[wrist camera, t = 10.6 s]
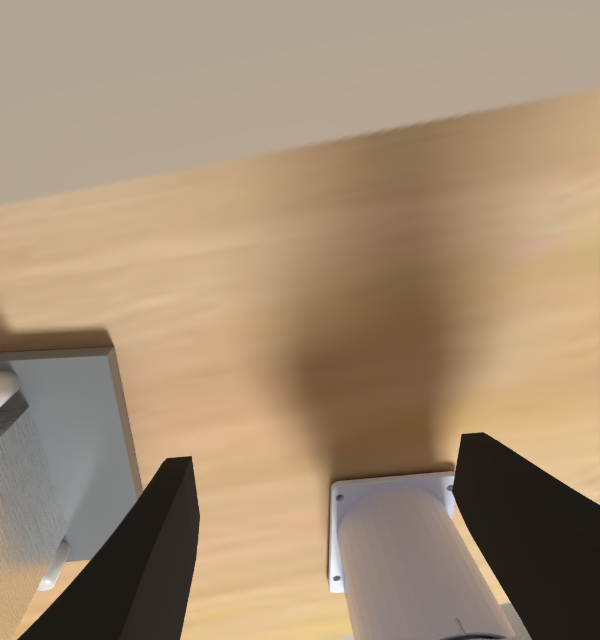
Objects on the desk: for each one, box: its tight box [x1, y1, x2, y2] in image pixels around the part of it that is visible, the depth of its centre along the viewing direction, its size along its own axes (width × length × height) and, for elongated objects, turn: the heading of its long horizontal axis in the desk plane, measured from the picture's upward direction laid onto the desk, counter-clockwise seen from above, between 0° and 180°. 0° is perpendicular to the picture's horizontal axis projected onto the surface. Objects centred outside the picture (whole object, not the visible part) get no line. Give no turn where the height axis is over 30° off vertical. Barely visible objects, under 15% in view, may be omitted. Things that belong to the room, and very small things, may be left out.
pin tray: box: [0, 347, 143, 591], centre depth 20 cm, size 13×12×3 cm
